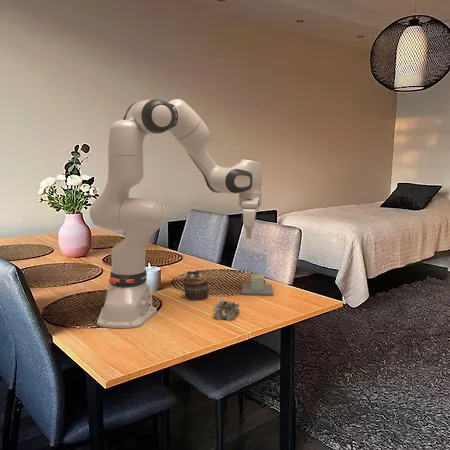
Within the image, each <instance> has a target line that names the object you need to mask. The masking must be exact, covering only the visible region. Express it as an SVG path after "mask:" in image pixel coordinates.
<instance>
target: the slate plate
mask: <svg viewBox="0 0 450 450" xmlns="http://www.w3.org/2000/svg"><path fill="white" fill-rule="evenodd" d="M241 284H242V285H241V286H242V287H241V296H255V297H257V296H258V297H259V296H263V297H268V296H269V297H274V288H273V284H271V283H270V284H269V283H268V284H267V283H264V290H251V283H241Z"/></svg>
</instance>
